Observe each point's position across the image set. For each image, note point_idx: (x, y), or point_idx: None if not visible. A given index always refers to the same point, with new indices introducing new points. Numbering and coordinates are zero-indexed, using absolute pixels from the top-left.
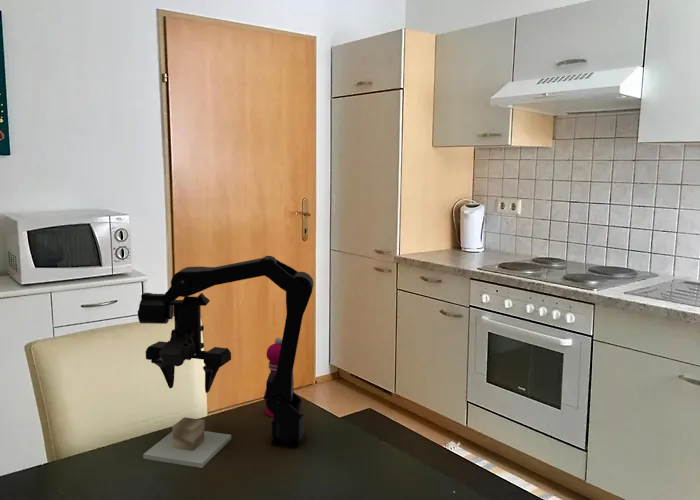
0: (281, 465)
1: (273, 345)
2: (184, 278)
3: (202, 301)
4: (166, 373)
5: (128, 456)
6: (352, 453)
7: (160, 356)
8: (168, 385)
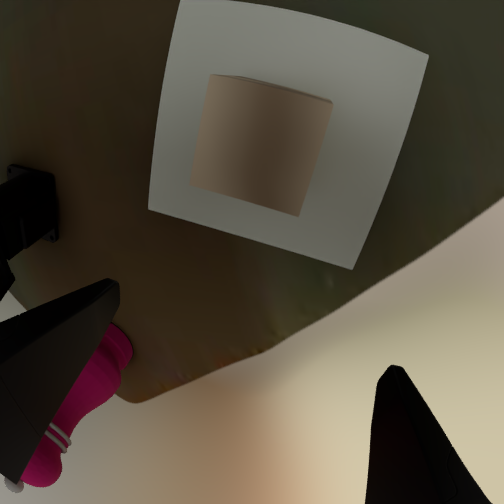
0: (16, 79)
1: (22, 478)
2: None
3: None
4: (435, 461)
5: (475, 83)
6: None
7: None
8: (408, 380)
